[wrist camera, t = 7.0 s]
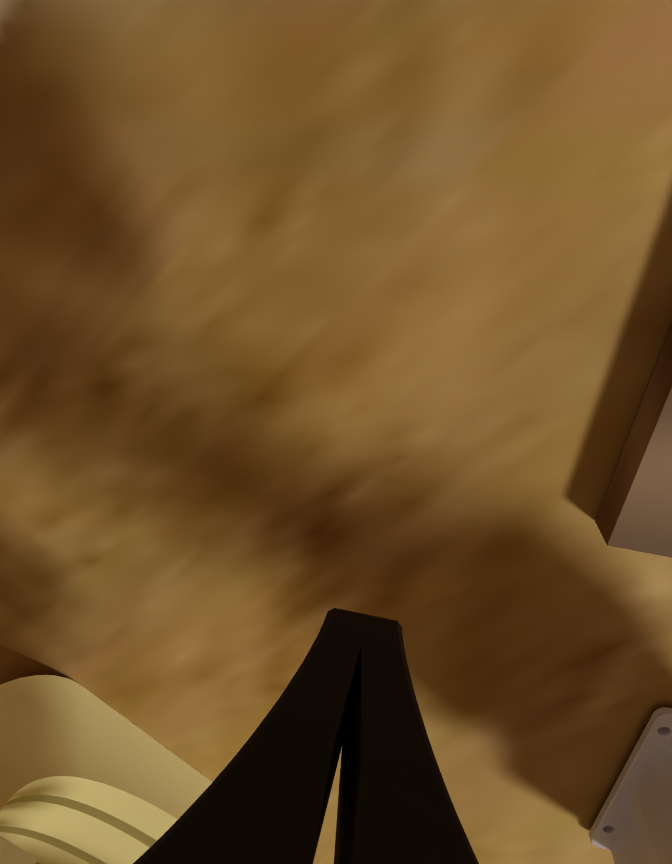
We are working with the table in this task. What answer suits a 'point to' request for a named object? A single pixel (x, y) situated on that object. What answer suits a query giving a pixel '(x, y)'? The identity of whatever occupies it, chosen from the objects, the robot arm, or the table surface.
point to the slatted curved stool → (82, 778)
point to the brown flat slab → (644, 472)
